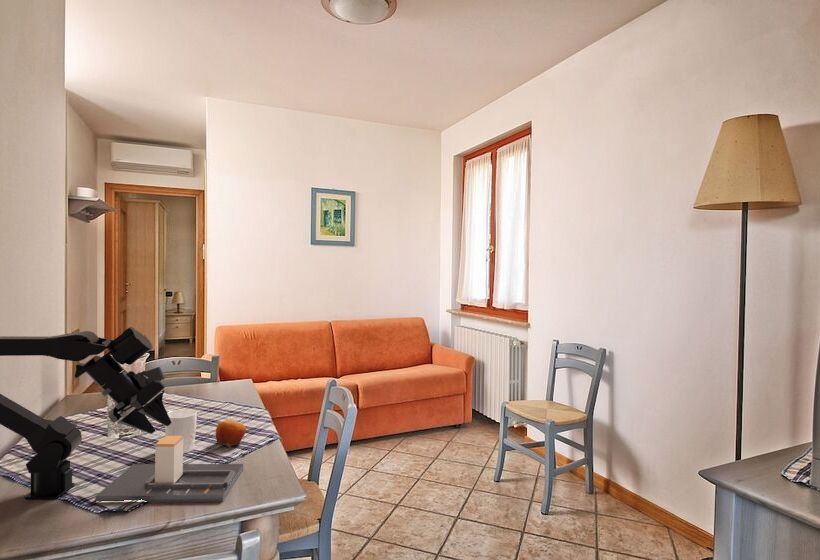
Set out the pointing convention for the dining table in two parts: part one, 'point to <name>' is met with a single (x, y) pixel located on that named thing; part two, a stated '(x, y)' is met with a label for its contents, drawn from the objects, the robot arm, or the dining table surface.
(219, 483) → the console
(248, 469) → the dining table surface
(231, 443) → the fruit
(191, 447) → the white cup
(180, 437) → the fader cap
